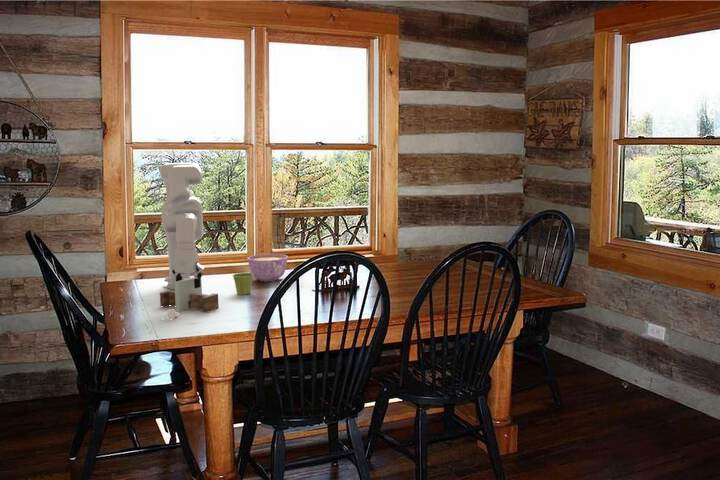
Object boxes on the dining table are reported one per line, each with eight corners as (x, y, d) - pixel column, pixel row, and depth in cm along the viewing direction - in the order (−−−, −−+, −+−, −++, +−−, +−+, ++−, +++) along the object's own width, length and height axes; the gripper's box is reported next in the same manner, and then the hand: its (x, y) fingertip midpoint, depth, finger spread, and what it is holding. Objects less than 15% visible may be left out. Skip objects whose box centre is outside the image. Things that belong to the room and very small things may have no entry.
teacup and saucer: (175, 316, 276) (175, 306, 276) (187, 319, 271) (187, 308, 271) (156, 320, 270) (156, 310, 269) (169, 323, 265) (168, 313, 264)
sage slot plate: (175, 310, 283) (174, 282, 281) (198, 303, 296) (197, 275, 294) (180, 311, 282) (178, 282, 280) (202, 304, 295) (201, 276, 293)
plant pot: (249, 296, 308) (249, 277, 307) (230, 295, 310) (229, 276, 309) (257, 291, 318) (256, 273, 316) (237, 291, 319) (237, 272, 318)
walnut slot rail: (160, 306, 291) (159, 292, 290) (173, 302, 298) (172, 289, 297) (206, 312, 280) (205, 297, 279) (218, 308, 287) (218, 293, 286)
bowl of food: (286, 284, 333) (285, 260, 332) (244, 284, 334) (243, 260, 332) (290, 276, 353) (290, 253, 352) (251, 276, 354) (250, 254, 352)
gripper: (163, 246, 286) (166, 286, 288) (196, 248, 278) (198, 290, 280) (176, 243, 292) (178, 283, 295) (208, 245, 285) (210, 286, 287)
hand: (188, 286), depth 288 cm, fingers open, 9 cm apart
